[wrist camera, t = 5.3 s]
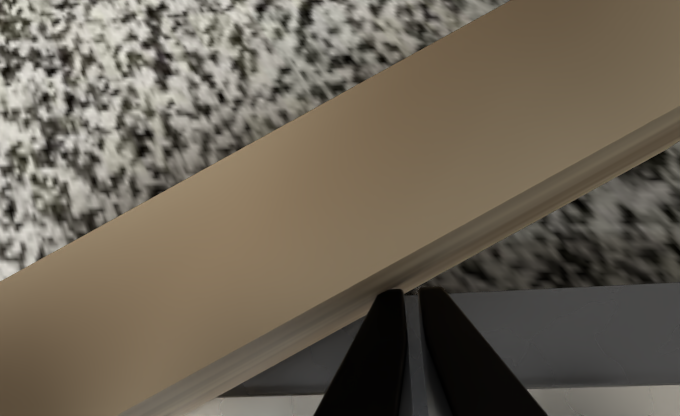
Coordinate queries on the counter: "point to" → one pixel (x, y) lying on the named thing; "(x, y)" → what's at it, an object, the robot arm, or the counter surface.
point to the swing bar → (342, 209)
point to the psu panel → (515, 354)
